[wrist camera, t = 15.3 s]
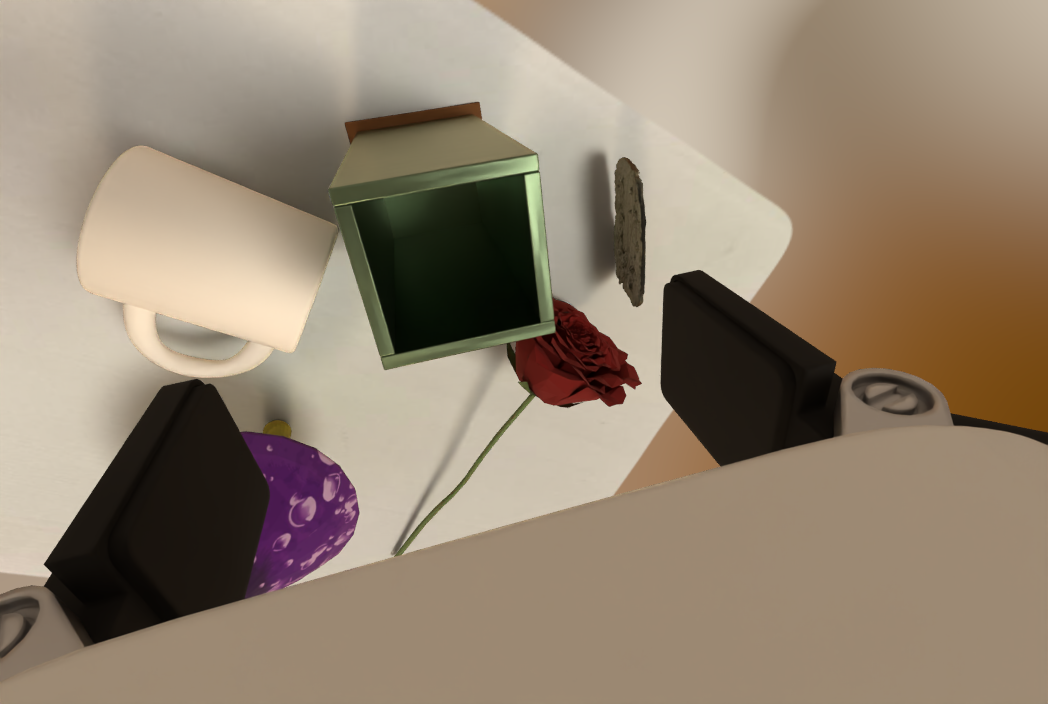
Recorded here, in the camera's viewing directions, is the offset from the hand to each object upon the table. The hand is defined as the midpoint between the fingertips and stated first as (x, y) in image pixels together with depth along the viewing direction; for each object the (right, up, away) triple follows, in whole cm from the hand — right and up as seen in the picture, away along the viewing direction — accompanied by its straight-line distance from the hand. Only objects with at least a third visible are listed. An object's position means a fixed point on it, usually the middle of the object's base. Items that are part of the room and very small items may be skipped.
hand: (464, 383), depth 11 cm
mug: (-17, +6, +21) cm, 28 cm away
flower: (-3, -7, +32) cm, 33 cm away
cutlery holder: (-5, +11, +21) cm, 25 cm away
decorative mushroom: (-17, -5, +28) cm, 33 cm away
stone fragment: (+8, +10, +26) cm, 29 cm away
